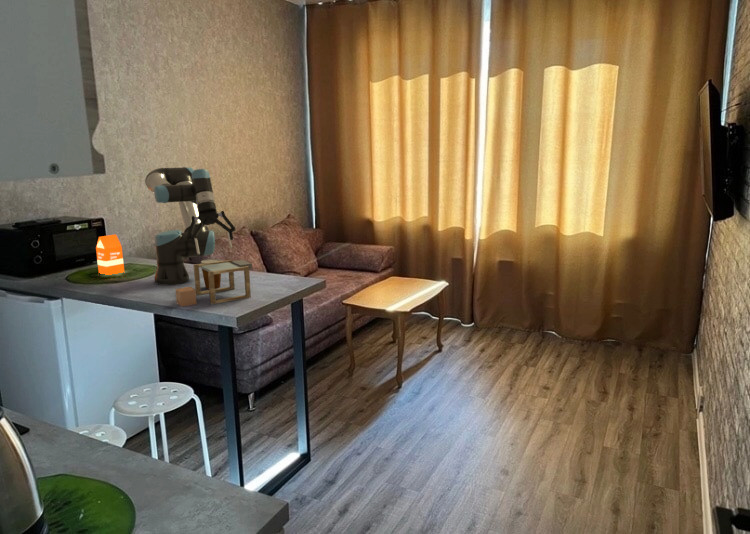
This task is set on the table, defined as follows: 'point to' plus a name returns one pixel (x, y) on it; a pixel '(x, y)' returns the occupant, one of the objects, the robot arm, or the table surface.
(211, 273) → the frame
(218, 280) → the disposable coffee cup
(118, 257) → the orange juice
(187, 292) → the block
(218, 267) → the trapdoor
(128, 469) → the table surface
